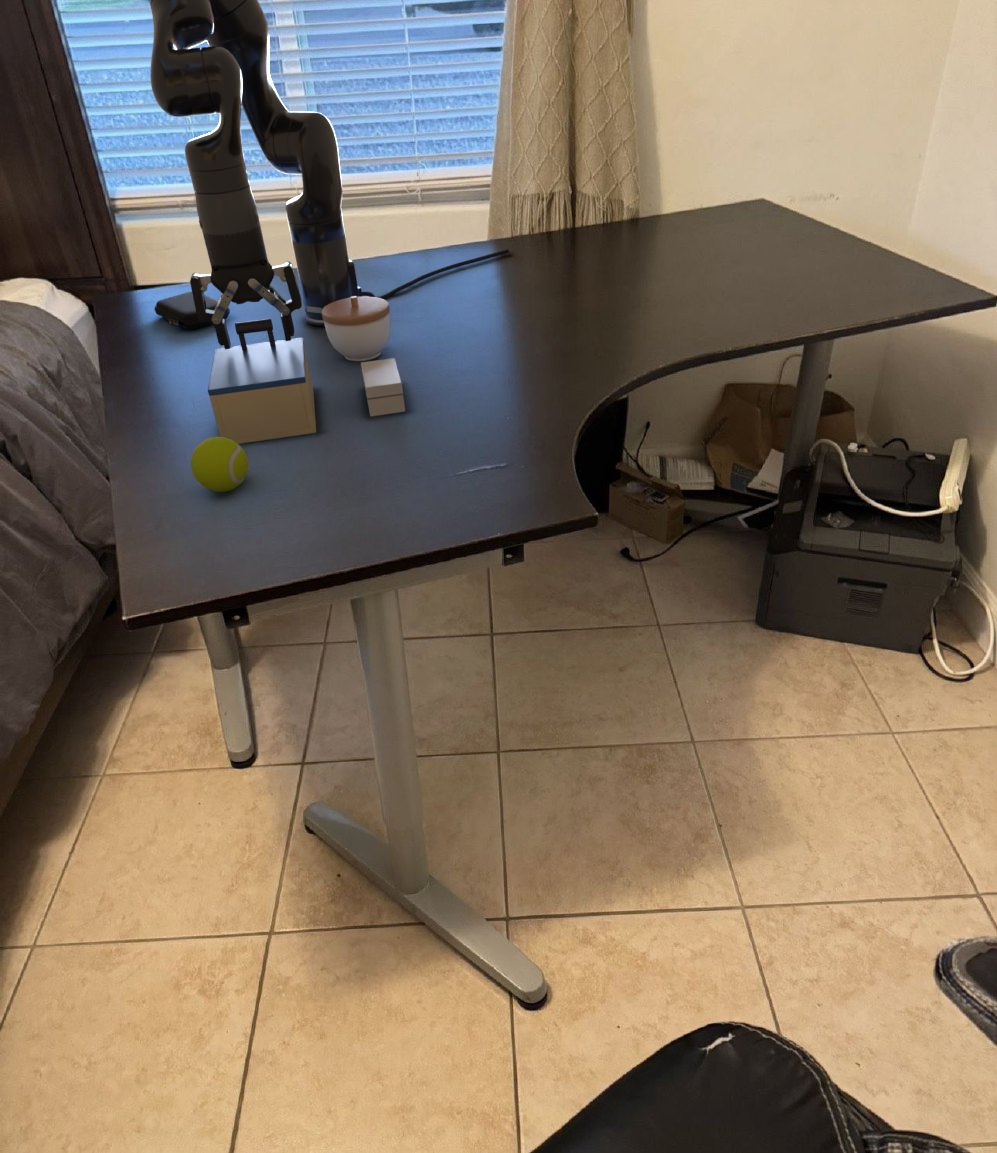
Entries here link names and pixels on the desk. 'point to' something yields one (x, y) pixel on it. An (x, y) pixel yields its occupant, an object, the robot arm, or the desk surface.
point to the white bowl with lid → (358, 326)
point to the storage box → (266, 412)
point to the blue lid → (257, 362)
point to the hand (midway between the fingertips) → (258, 343)
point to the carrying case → (184, 310)
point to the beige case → (383, 387)
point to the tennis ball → (219, 464)
